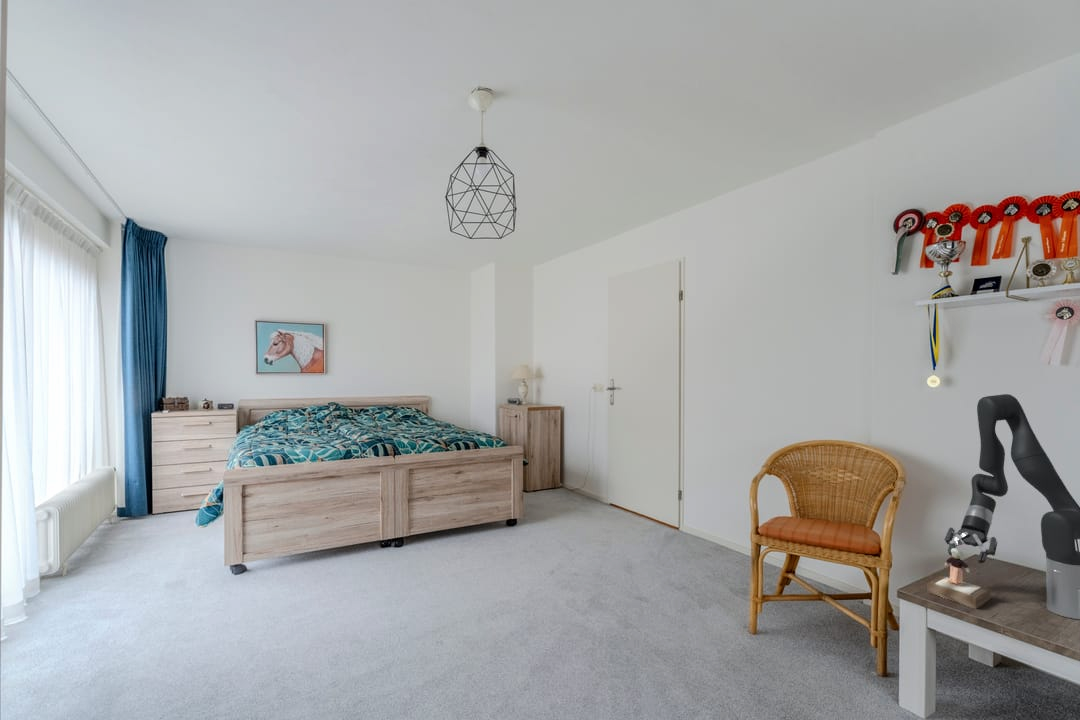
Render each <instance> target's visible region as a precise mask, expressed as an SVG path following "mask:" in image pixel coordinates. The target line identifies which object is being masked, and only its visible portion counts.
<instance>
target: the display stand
mask: <svg viewBox="0 0 1080 720" xmlns="http://www.w3.org/2000/svg"><path fill="white" fill-rule="evenodd" d="M948 580H950V576H945V575H940V576H937V577H936V578H934V579H932V580H930V581H929V582H927V583H926V593H927V592H929V593H932V594H935V595H938V596H940V597H939V598H941V597H943V598H942V599H944V598H946V599H945V600H947V599H949V600H948V601H950V600H952V601H951V602H953V601H955V602H954V603H956V602H958V603H957V604H959V603H960V605H962V604H963V605H962V606H965V605H966V607H968V606H969V608H972V609H974V610H976V609H978V608H980V607H981V606H982V605H984V604H985V602H986V603H987V602H988V600H989V601H990V600H991V589H990V588H986V587H984V586H980V585H977V584H973V583H969V582H966V581H963V583H962V584H963V586H962V587H960V586H957V585H955V584H956V583H954V584H951V583H948V582H947V581H948ZM935 595H934V596H935ZM938 596H937V597H938Z"/></svg>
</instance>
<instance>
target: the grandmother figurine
mask: <svg viewBox="0 0 1080 720" xmlns="http://www.w3.org/2000/svg"><path fill="white" fill-rule="evenodd" d="M951 553H952V556H950V557H949V558H948V559H947V560H945V563H944V566H945V567H949V565H950V571H949V577H950V580H948V581H947V582H948V583H951V584H954V583H956V584H955V585H957V586H960V587H962V586H963V584H962V583H963V582H964V581H963V579H964V572H963V569H965V571H966V573H968V574H970V573H971V570H970V568H969V565H968V564H967V563H966V562H964V560H962V559H961V557H963V556H964V554H963V552H962V551H961V550H960V548H956V547H955V548H952V549H951Z"/></svg>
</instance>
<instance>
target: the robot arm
mask: <svg viewBox="0 0 1080 720" xmlns="http://www.w3.org/2000/svg"><path fill="white" fill-rule="evenodd" d="M976 412H977V421H978V422H977V423H978V431H979V438H980V439H979V440H980V451H979V460H978V461H979V462H978V467H979V469H980V470H982V471H983V472H985V473H988V474H989V475H988V474H985V473H984V474H983V473H976V474H974V475H973V476H972V478H971V482H970V483H971V488H972V489H971V490H972V491H971V495H972V496H971V499H970V503H969V506H968V508H967V510H966V511H965V515H964V518H963V520H962V524H961V526H960V529H958V530H957V529H954V527H949V528H948V530H947V532H946V535H945V537H944V541H945V544H947V545H948V548H947V553H948V554H949V556H950V557H952V553H951V549H952V548H956V547H958V546H962V545H964V544H965V545H967V546H972V547H975V548H976V547H979V549H980V551H979V556H978V558H977V562H978V564H981V565H983V564H984V563H986V560H987V556H993V557H994V556H995V555H996V552H997V551H996V550H997V546H998V541H997V539H996V537H995V536H992V537H988V534H989V532H990V527H991V525H992V523H993V516H994V512H995V509H996V506H997V502H996V500H995V499H994V498H993V497H991V496H994V497H999V498H1001V497H1004V496H1005V495H1007V494H1008V491H1009V485H1008V482H1007V479H1006V475H1005V459H1006V453H1005V452H1006V451H1005V447H1004V446H1003V444H1002V442H1001V441H1000V438H999V437H998V435H997V431H996V424H997V422H999V421H1005V422H1006V423H1007V425H1008V427H1009V429H1010V431H1011V435H1012V439H1011V440H1012V441H1011V446H1010V449H1011V450H1010V457H1011V460H1012V462H1013V464H1014V466H1015V467H1016V469H1017V472H1018V473H1019V474H1020V475H1021V477H1022V478H1023V480H1025V481H1026V482H1027V483H1028V484H1029V485H1030V486H1032V487H1033V488H1034V489H1035V490H1037V491H1038V493H1040V494H1042V496H1043V497H1044V498H1045V499H1046V501H1047V502H1048V503H1049V505H1050V507H1051V509H1052V511H1047V512H1045V513H1044V514H1043V515H1042V517H1041V520H1040V532H1041V543H1042V547H1043V550H1044V551H1045V568H1046V569H1045V570H1046V571H1045V574H1046V579H1045V580H1046V609H1047V610H1048V611H1049V612H1051V613H1053V614H1056V615H1058V616H1061V617H1063V618H1064V617H1065V618H1069V619H1075V620H1080V551H1078V550H1077V549H1076V540H1080V505H1079V504H1078V502H1077V501H1076V500H1075V498H1074V497H1073V496H1072V494H1071V493H1070V491H1069V490H1068V489H1067V487H1066V485H1065V483H1064V481H1063V480H1062V479H1061V477H1060V476H1059V474H1058V472H1057V470H1056V469H1055V466H1054V465H1053V463H1052V461H1051V459H1050V457H1049V456H1048V455H1047V453H1046V451H1045V449H1044V448H1043V446H1042V445H1041V443H1040V441H1039V440H1038V438H1037V436H1036V434H1035V433H1034V430H1033V429H1032V427H1031V424H1030V422H1029V420H1028V418H1027V415H1026V413H1025V412H1024V408H1023V407H1022V405H1021V403H1020V401H1019V400H1018V399H1017V398H1016V397H1015V396H1014V395H1012V394H1008V393H1003V394H995V395H988V396H983V397H981V398H980V399H979V400H978V402H977V408H976ZM991 475H992V476H991ZM990 495H991V496H990ZM987 542H988V544H989V548H988V549H987V548H985V546H984V544H985V543H987Z"/></svg>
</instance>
